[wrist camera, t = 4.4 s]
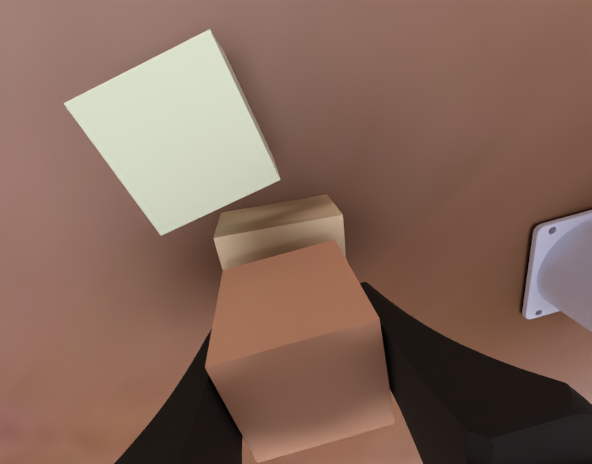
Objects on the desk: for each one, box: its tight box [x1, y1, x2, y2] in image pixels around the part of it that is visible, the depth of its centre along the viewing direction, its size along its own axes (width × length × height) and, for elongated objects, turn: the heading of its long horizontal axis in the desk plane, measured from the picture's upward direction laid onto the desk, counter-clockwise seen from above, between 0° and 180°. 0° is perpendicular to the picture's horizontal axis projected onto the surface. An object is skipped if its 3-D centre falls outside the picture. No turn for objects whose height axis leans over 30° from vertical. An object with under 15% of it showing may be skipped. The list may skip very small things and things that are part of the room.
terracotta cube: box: [205, 240, 395, 463], centre depth 11 cm, size 5×5×5 cm
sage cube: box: [64, 29, 280, 235], centre depth 12 cm, size 5×5×5 cm
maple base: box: [213, 194, 346, 270], centre depth 16 cm, size 6×6×4 cm
